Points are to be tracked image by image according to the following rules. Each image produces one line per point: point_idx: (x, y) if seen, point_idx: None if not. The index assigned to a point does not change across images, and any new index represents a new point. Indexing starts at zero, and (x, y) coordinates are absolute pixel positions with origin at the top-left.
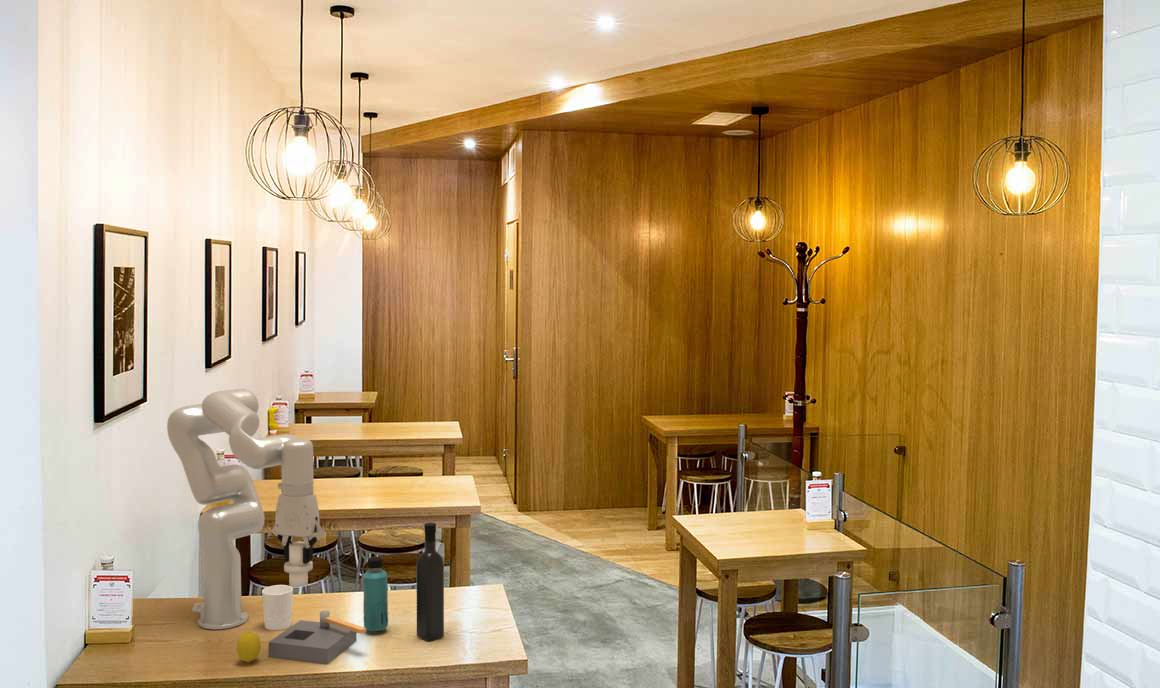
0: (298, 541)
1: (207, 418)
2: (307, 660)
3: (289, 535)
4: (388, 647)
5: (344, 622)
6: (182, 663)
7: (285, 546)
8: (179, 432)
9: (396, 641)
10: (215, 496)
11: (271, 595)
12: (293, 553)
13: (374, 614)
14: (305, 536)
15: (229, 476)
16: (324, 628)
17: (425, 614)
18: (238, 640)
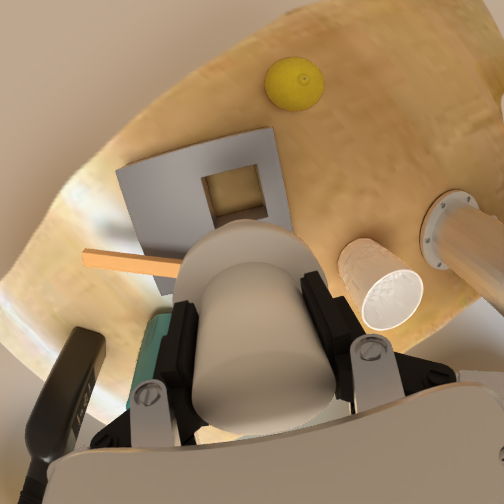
0: (304, 423)
1: None
2: (171, 150)
3: (301, 432)
4: (100, 284)
5: (145, 268)
6: (396, 47)
7: (345, 337)
8: None
9: (111, 308)
10: None
11: (390, 272)
12: (245, 312)
13: (147, 336)
14: (89, 450)
15: None
16: None
17: (63, 357)
18: (313, 63)
